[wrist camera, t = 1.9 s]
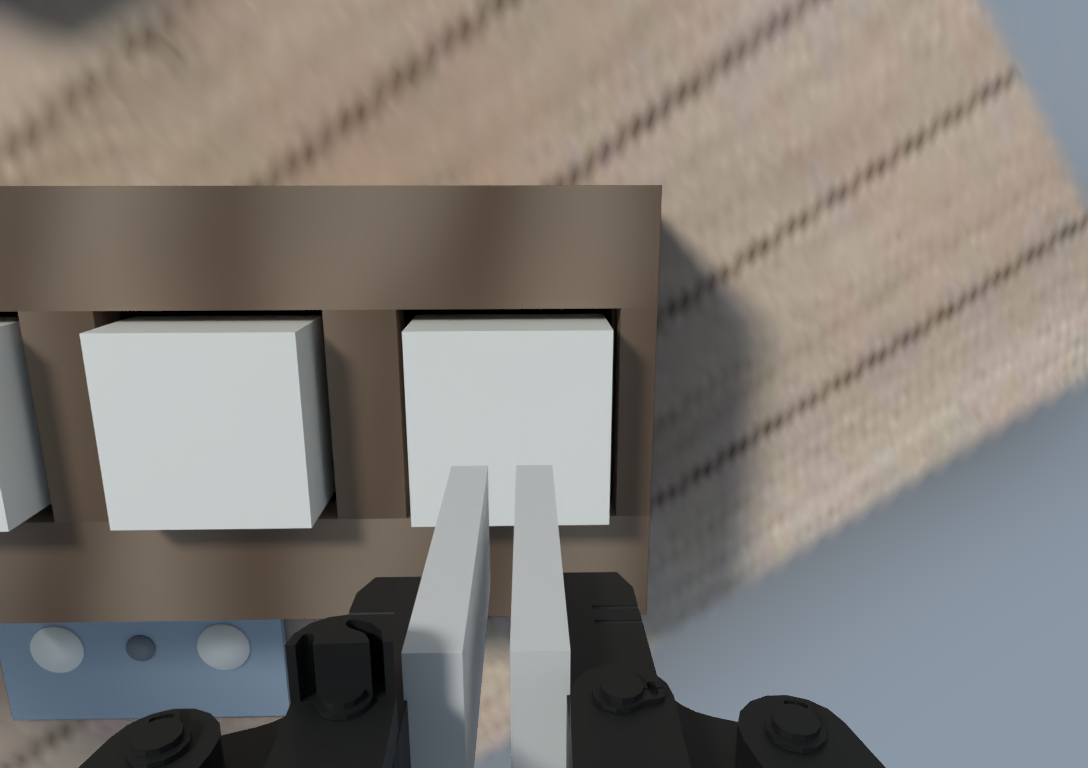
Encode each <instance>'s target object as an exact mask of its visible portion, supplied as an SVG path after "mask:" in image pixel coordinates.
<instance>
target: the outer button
mask: <svg viewBox="0 0 1088 768" xmlns="http://www.w3.org/2000/svg"><path fill="white" fill-rule="evenodd" d="M402 346H403V367H404V387H405V407H406V427H407V448H408V468H409V488H410V508H411V527H435V526H436V522H437V518H438V515H439V511H440V507H441V504H442V500H443V496H444V492H445V489H446V485H447V481H448V477H449V474H450V470H451V466H488V494H489V526H514V514H515V485H516V465H552V466H553V477H554V487H555V497H556V507H557V518H558V525H609V508H610V462H611V417H612V371H613V329H612V327H611V326H610V324H609V323H608V321H607V319H606V318H605V316H604V315H603V314H450V315H416V316H415V317H414V318H413V319H412V321H411V322H410V323H409V324H408V325H407V326H406V327H405V329H404V330H403V331H402Z"/></svg>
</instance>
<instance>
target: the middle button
mask: <svg viewBox="0 0 1088 768" xmlns="http://www.w3.org/2000/svg"><path fill="white" fill-rule="evenodd" d="M79 335H80V341H81V348H82V354H83V360H84V367H85V373H86V379H87V386H88V392H89V398H90V405H91V411H92V417H93V424H94V430H95V436H96V442H97V449H98V455H99V461H100V468H101V474H102V480H103V487H104V493H105V499H106V506H107V512H108V518H109V525H110V530H196V529H282V528H312V527H313V525H314V524H315V522H316V521H317V519H318V517H319V516H320V514H321V513H322V511H323V509H324V508H325V506H326V505H327V503H328V502H329V500H330V498H331V497H332V495H333V494H334V492H335V491H336V487H335V474H334V461H333V447H332V434H331V421H330V408H329V394H328V381H327V368H326V355H325V342H324V328H323V315H260V316H132V317H129V318H126V319H123V320H120V321H117V322H114V323H111V324H107V325H104V326H101V327H98V328H95V329H92V330H89V331H86V332H82V333H79Z"/></svg>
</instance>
